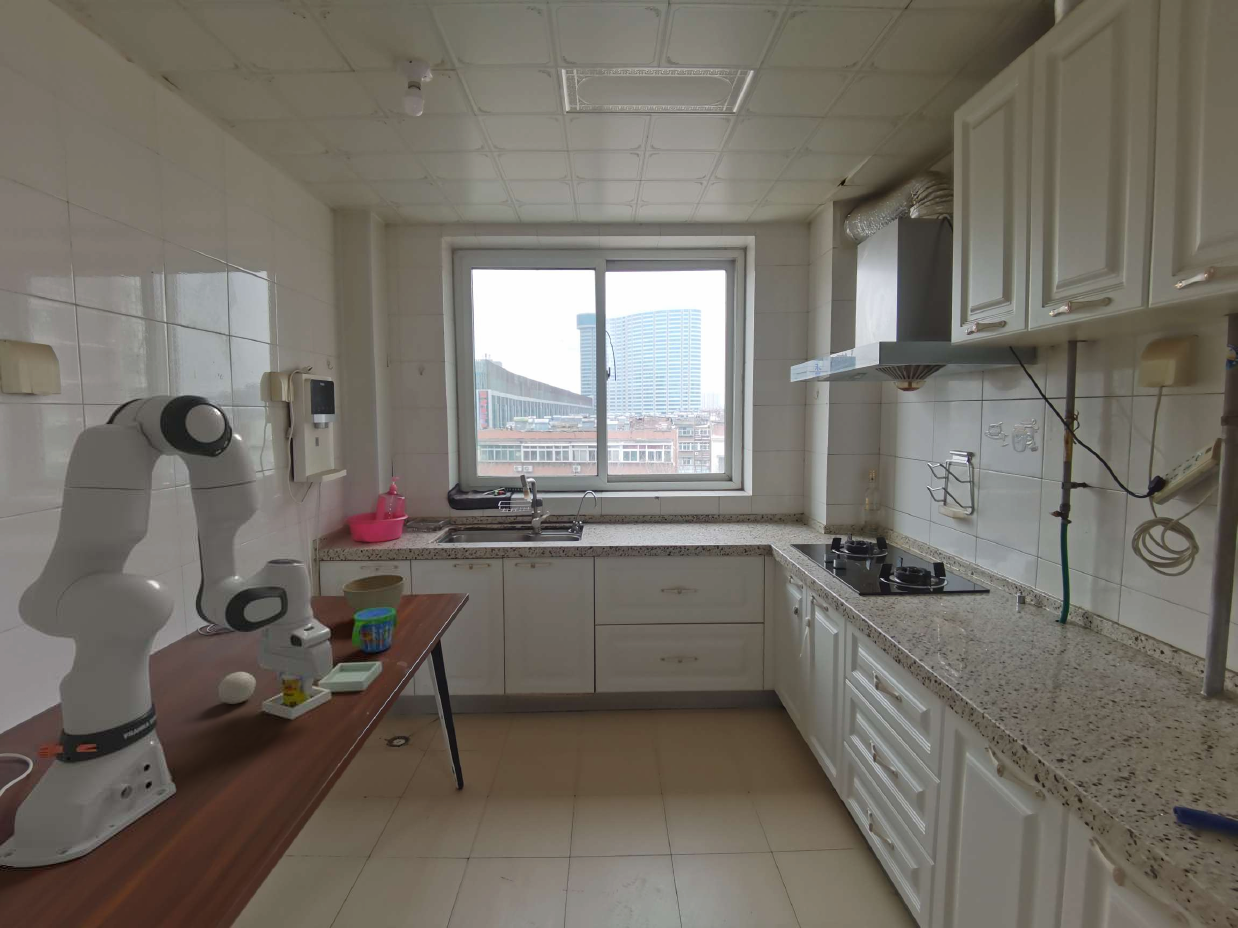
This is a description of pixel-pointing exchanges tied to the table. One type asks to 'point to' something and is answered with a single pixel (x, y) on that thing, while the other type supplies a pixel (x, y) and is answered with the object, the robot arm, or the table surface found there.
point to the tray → (351, 676)
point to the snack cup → (374, 628)
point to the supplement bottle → (293, 689)
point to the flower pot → (374, 592)
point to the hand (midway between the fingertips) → (296, 690)
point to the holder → (318, 698)
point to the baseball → (236, 687)
